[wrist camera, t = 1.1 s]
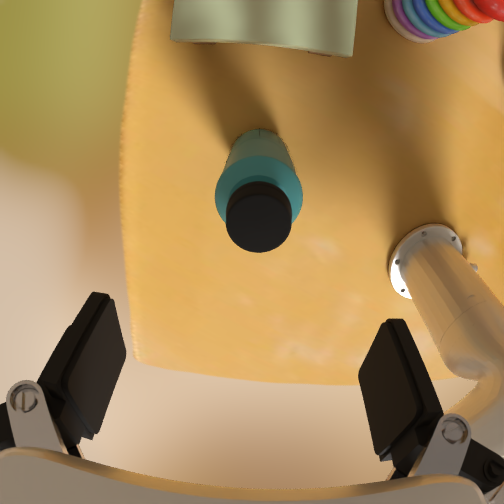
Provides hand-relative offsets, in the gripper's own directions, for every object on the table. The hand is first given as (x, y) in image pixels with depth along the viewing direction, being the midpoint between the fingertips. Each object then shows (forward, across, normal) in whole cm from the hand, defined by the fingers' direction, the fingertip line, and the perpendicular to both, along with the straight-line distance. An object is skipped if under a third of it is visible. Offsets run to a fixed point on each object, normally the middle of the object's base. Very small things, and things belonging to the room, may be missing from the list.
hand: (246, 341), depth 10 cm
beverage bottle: (+29, 0, 0) cm, 29 cm away
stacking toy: (+29, -16, -21) cm, 39 cm away
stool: (+29, +1, -20) cm, 35 cm away
